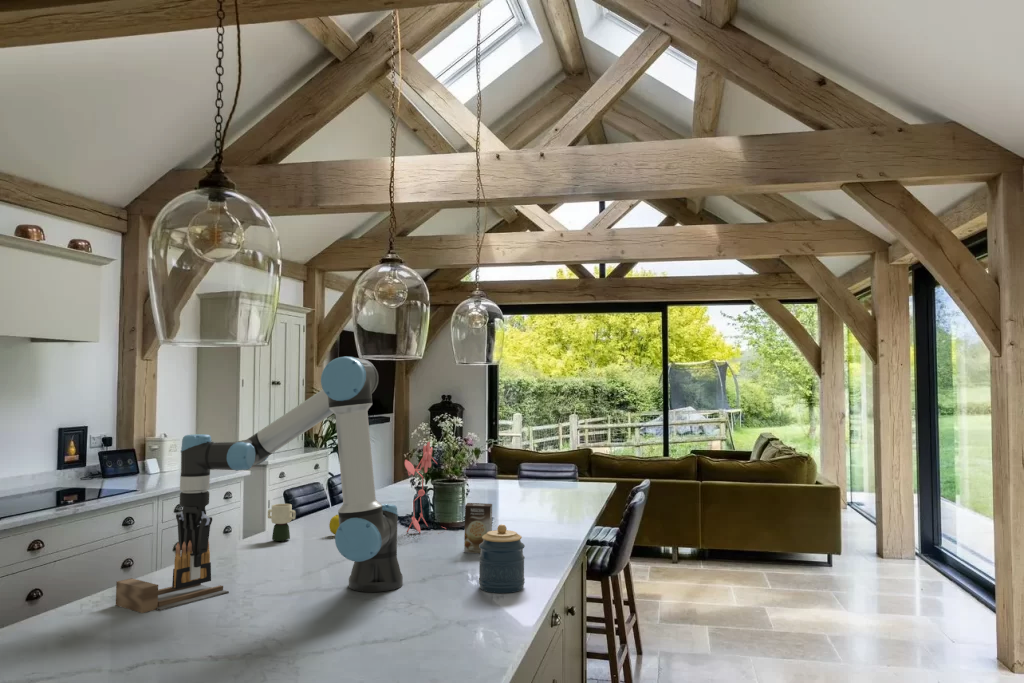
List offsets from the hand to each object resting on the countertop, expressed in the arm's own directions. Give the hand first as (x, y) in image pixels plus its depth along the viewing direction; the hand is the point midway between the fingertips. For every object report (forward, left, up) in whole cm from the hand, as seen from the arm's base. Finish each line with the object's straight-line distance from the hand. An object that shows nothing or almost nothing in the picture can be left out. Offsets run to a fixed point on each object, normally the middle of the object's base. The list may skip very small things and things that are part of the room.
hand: (192, 578), depth 205 cm
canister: (-67, -52, -4) cm, 85 cm away
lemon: (+26, -79, -4) cm, 83 cm away
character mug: (+36, -61, -4) cm, 71 cm away
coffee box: (-34, -87, -4) cm, 93 cm away
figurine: (+4, -106, -4) cm, 106 cm away
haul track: (0, +6, -4) cm, 7 cm away
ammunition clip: (0, 0, -2) cm, 2 cm away
